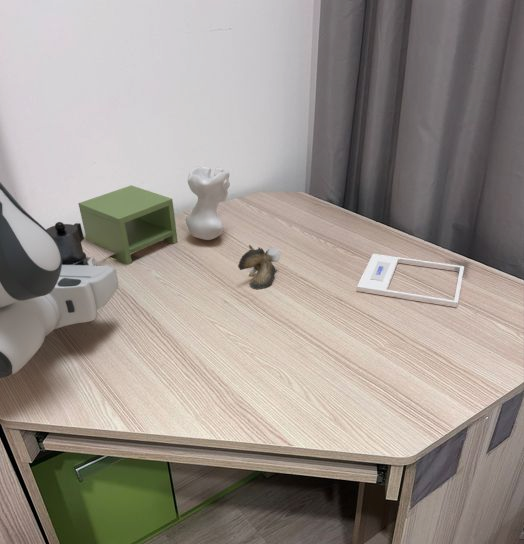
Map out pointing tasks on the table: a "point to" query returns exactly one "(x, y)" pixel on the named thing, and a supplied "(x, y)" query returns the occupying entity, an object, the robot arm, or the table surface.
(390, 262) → the photo frame
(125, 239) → the nightstand
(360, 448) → the table surface
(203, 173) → the white hourglass figure
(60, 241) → the coffee pot
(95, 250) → the table surface
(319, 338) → the table surface
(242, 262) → the eagle figurine
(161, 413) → the table surface
